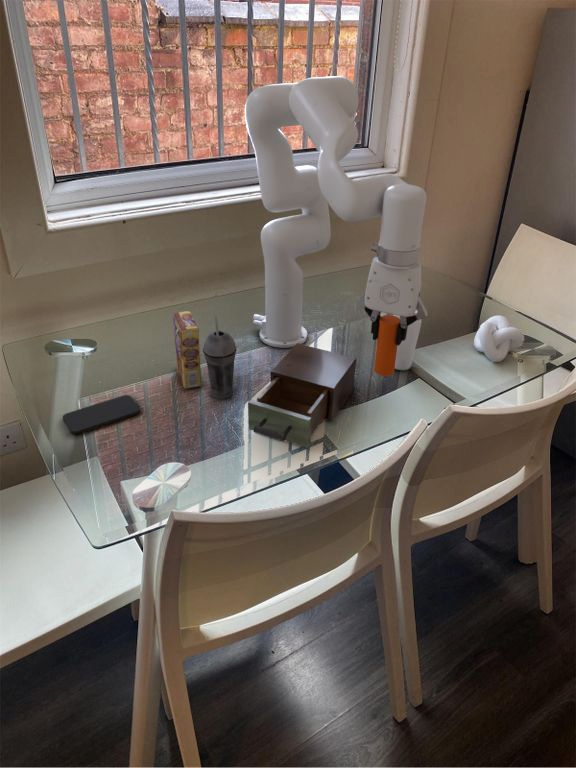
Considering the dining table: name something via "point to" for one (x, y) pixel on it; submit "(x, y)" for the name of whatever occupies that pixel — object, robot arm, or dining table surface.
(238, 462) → the dining table surface
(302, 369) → the cabinet
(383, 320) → the roller
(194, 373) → the candy box
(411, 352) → the drinking glass
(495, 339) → the white knot sculpture
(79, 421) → the phone
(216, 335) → the beverage cup
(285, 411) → the drawer
